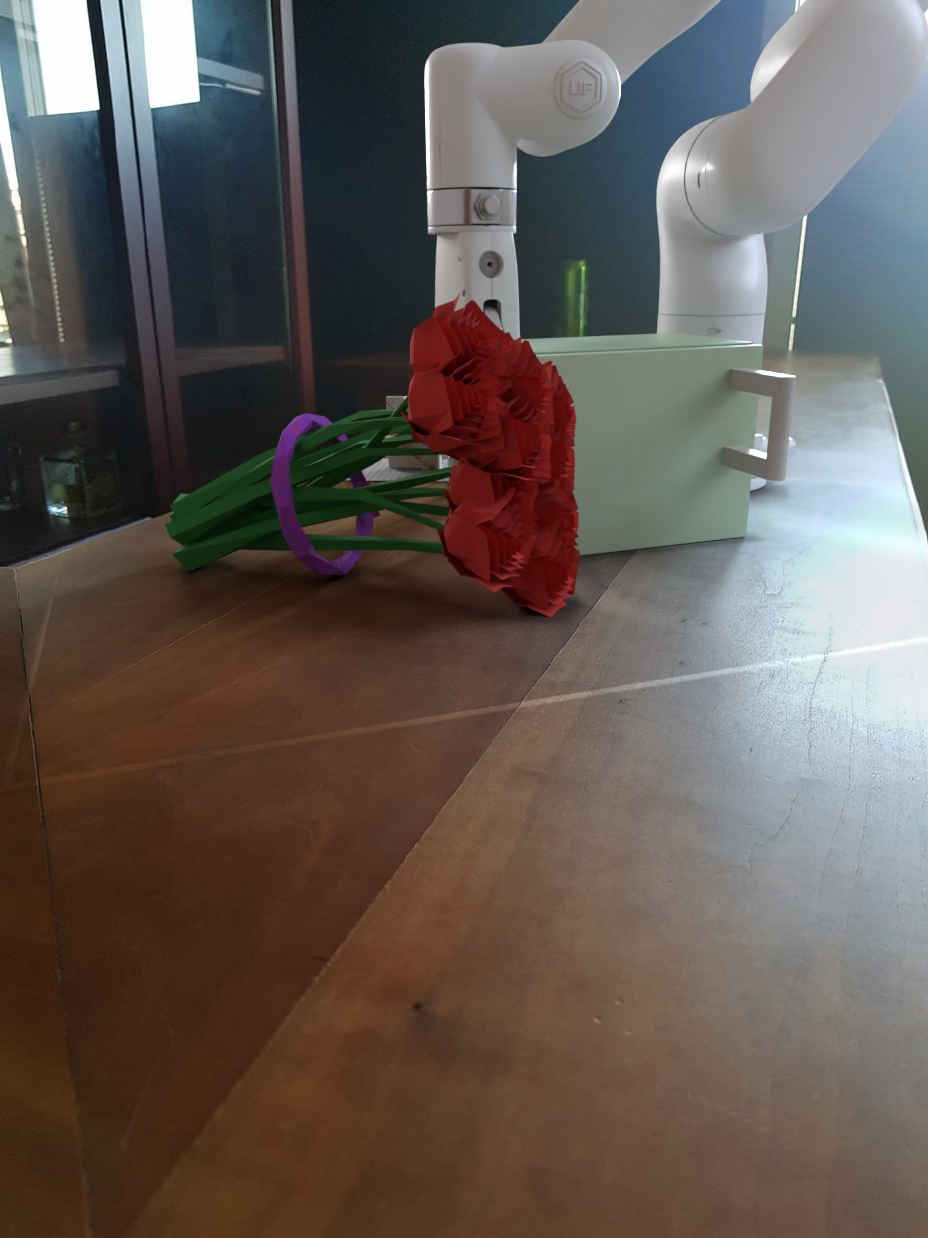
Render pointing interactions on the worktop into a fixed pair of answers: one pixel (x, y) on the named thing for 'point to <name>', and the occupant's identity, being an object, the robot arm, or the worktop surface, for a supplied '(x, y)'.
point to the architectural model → (403, 458)
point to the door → (670, 442)
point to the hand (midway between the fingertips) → (473, 430)
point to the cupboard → (626, 343)
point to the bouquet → (449, 425)
